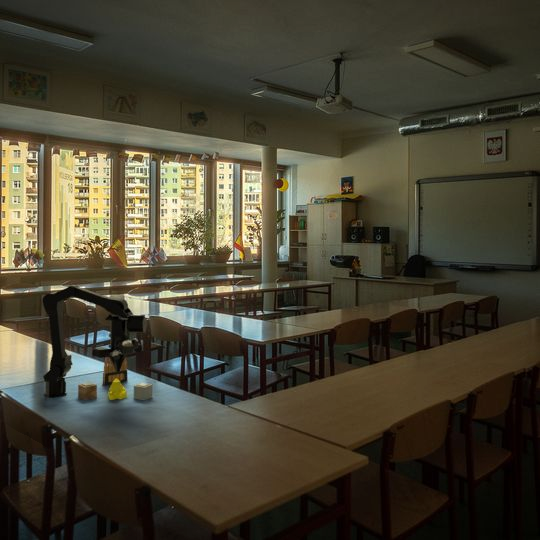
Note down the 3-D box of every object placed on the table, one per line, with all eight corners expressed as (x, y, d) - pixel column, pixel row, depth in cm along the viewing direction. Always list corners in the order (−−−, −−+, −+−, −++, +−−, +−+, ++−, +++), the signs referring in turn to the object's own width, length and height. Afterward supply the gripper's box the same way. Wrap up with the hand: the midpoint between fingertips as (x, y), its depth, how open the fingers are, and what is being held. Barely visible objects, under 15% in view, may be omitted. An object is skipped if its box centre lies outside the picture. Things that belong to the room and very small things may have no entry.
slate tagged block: (144, 400, 200) (144, 386, 200) (133, 398, 202) (133, 385, 202) (152, 397, 205) (152, 383, 205) (141, 395, 207) (141, 382, 207)
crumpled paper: (130, 395, 206) (130, 376, 206) (117, 401, 199) (117, 380, 198) (117, 393, 208) (117, 374, 208) (104, 399, 201) (104, 379, 200)
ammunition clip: (104, 385, 218) (105, 357, 218) (102, 384, 220) (102, 356, 219) (127, 381, 226) (128, 353, 225) (125, 380, 227) (125, 353, 227)
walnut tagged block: (84, 400, 198) (84, 386, 198) (78, 397, 202) (78, 383, 201) (96, 397, 202) (97, 384, 202) (90, 394, 205) (90, 381, 205)
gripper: (107, 337, 190) (106, 380, 190) (151, 332, 203) (150, 372, 204) (91, 333, 197) (91, 374, 198) (134, 328, 211) (134, 367, 212)
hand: (117, 372), depth 203 cm, fingers closed
